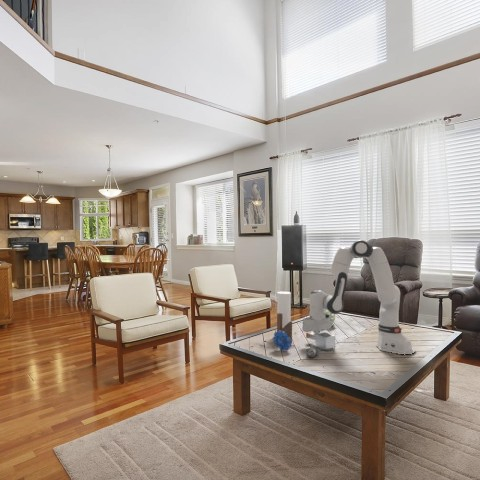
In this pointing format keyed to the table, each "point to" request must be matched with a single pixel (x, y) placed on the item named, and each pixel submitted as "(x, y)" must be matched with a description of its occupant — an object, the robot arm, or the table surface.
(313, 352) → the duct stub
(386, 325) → the robot arm
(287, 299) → the cylinder container
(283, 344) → the grapes
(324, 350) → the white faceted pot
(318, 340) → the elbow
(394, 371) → the table surface
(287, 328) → the wooden hammer
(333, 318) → the wavy plaster lump
